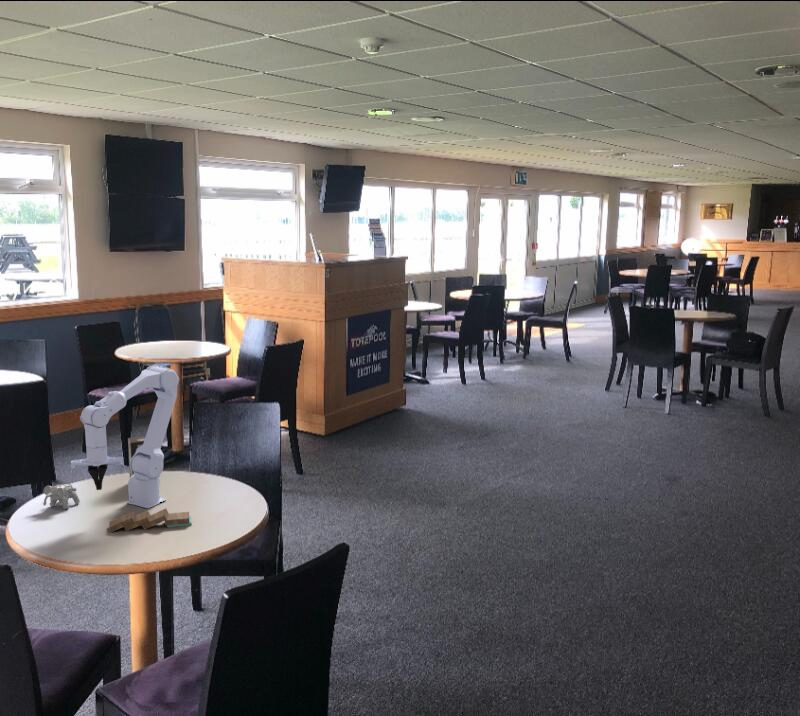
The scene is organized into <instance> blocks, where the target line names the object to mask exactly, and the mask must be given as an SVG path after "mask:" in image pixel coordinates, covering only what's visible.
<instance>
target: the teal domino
mask: <svg viewBox="0 0 800 716" xmlns="http://www.w3.org/2000/svg"><path fill="white" fill-rule="evenodd" d="M192 523H193V521H192V516H191V515H189V523H186V524H175V525H166V528H167V527H169V528H175V527H174V526H179V527H187V525H189V526H193V525H192Z"/></svg>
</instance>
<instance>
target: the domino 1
mask: <svg viewBox="0 0 800 716" xmlns="http://www.w3.org/2000/svg"><path fill="white" fill-rule="evenodd" d="M135 516H136V515H135V513H134V511H133V510H131V511H129V512H127V513H126V514H123V515H120V516H118V517H116V518H115V519H112V520H109V523H108V529H109V531H110V533H113V532H115V531H118V530H120V529H122V528H124V526H126V525H129V524H131V523H133V522H134V519H135Z"/></svg>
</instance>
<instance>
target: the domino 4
mask: <svg viewBox="0 0 800 716" xmlns="http://www.w3.org/2000/svg"><path fill="white" fill-rule="evenodd" d="M189 516H190V511H183V512H170V513H169V512H168V516H167V520H165V521H164V526H167V525H175V524H186V523H189Z"/></svg>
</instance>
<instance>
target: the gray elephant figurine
mask: <svg viewBox="0 0 800 716" xmlns="http://www.w3.org/2000/svg"><path fill="white" fill-rule="evenodd" d="M43 494H44V495H45V497H44V499H43V503H42V504H43V506H46V505H47V499H48V498H50V499H49V500H50V502H49V506H50V507H51V508H54V507H55V505H56V503H57V502H60V503H61V505H62V509H63V510H68V509H70V503H69V502H68V501H69V499H72V501H73V502H74V504H75V505H79V504H80V501H81V500H80V498H79V495H78V494H77V488H76V487H75V486H73V485H72V484H70V483H64V484H56V485H54V486H51V485H46V486H45V487H44V488H43Z"/></svg>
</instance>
